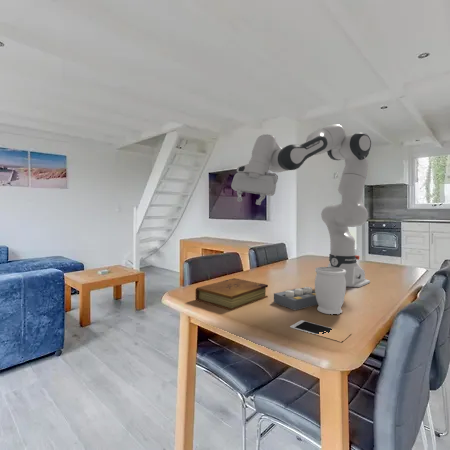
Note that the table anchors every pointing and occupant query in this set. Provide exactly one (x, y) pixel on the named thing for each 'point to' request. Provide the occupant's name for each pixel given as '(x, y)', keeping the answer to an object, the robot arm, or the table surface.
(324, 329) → the cell phone
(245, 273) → the table surface
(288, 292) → the button
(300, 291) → the button mid
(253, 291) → the diary
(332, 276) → the jar
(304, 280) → the table surface
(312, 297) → the board
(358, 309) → the table surface
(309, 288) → the button
